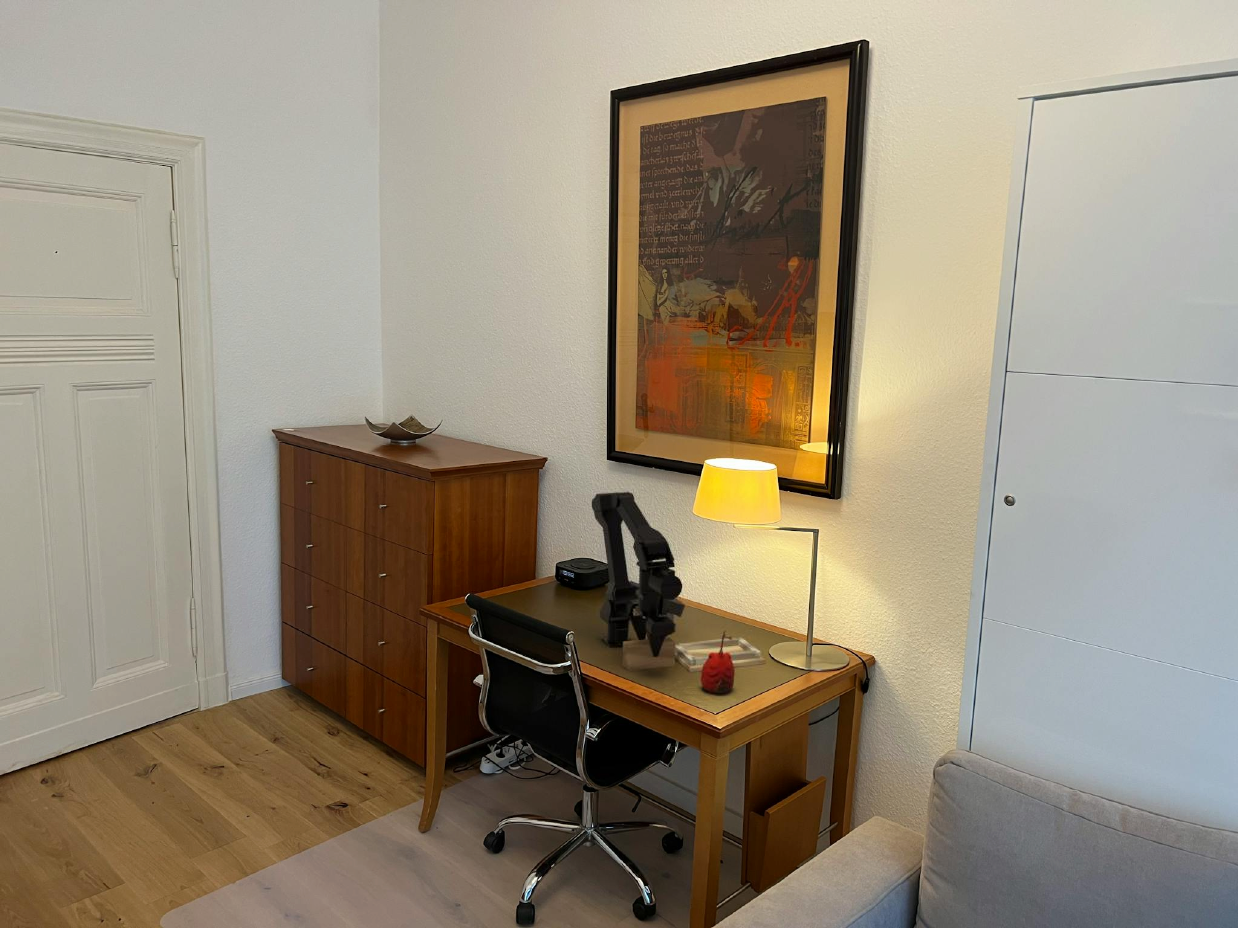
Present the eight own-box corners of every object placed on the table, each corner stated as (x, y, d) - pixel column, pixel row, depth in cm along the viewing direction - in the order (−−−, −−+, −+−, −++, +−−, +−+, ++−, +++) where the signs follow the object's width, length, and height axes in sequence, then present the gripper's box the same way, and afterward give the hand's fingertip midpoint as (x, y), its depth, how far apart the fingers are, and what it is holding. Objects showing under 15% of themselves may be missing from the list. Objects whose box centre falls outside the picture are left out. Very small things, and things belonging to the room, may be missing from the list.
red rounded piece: (729, 683, 213) (732, 621, 211) (738, 695, 206) (741, 631, 204) (697, 684, 212) (699, 622, 210) (705, 696, 205) (707, 632, 203)
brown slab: (622, 665, 223) (623, 641, 222) (668, 660, 227) (669, 637, 226) (627, 671, 219) (628, 647, 218) (674, 666, 223) (675, 642, 222)
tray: (668, 651, 232) (668, 642, 232) (739, 644, 239) (740, 635, 238) (690, 672, 219) (690, 662, 219) (765, 663, 226) (765, 653, 225)
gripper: (697, 596, 214) (694, 660, 216) (667, 575, 231) (665, 634, 234) (652, 600, 210) (650, 665, 213) (625, 578, 228) (624, 638, 230)
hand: (648, 649), depth 223 cm, fingers open, 9 cm apart
